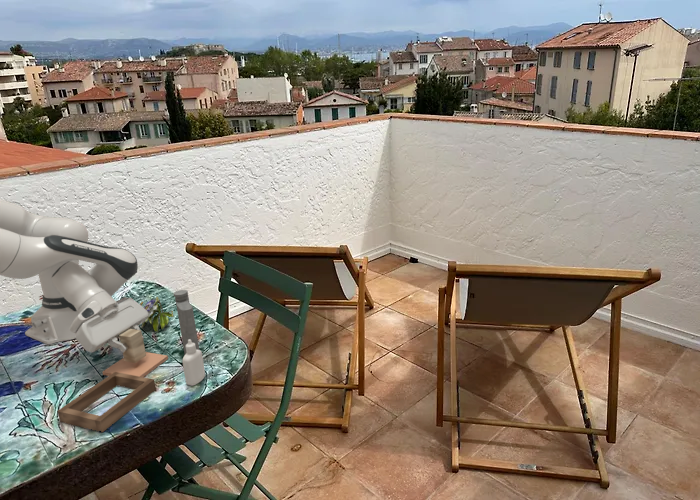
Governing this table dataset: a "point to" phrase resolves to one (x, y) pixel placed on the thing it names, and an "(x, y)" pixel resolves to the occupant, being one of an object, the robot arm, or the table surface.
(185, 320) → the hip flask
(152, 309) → the passion flower
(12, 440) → the table surface
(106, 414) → the walnut stand
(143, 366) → the terracotta tile
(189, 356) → the eye dropper bottle
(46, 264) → the robot arm
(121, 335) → the ash post
